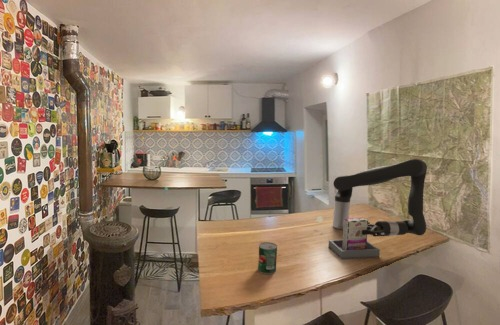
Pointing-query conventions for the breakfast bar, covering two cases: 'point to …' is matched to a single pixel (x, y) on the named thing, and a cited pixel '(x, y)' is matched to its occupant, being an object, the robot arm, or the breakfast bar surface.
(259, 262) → the canned tomato
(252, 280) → the breakfast bar surface
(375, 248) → the tray
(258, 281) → the breakfast bar surface
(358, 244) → the candy bar box
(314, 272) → the breakfast bar surface
